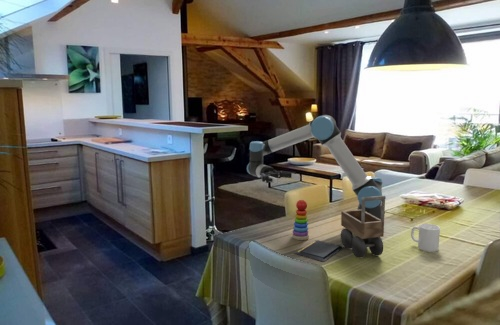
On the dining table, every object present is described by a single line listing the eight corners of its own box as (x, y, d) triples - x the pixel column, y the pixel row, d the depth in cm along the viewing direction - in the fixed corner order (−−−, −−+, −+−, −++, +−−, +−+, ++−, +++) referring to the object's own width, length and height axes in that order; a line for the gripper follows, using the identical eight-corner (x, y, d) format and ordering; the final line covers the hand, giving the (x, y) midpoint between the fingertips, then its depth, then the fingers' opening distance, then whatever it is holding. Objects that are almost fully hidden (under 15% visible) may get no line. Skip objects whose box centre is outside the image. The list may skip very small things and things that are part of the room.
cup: (434, 253, 169) (435, 231, 167) (406, 246, 177) (407, 224, 176) (441, 248, 175) (442, 226, 173) (414, 241, 183) (415, 220, 181)
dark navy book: (323, 259, 162) (292, 250, 171) (323, 263, 162) (292, 254, 172) (345, 245, 177) (316, 237, 187) (345, 249, 177) (316, 241, 187)
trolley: (359, 242, 183) (361, 186, 178) (383, 258, 165) (385, 196, 160) (340, 244, 181) (341, 187, 176) (361, 261, 162) (363, 198, 158)
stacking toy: (295, 241, 185) (296, 203, 182) (289, 236, 193) (289, 198, 190) (311, 239, 187) (311, 201, 184) (304, 234, 195) (305, 197, 192)
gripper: (284, 176, 219) (308, 184, 201) (245, 182, 207) (266, 190, 189) (284, 163, 218) (308, 169, 199) (245, 168, 206) (266, 174, 187)
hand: (288, 179), depth 194 cm, fingers open, 13 cm apart
